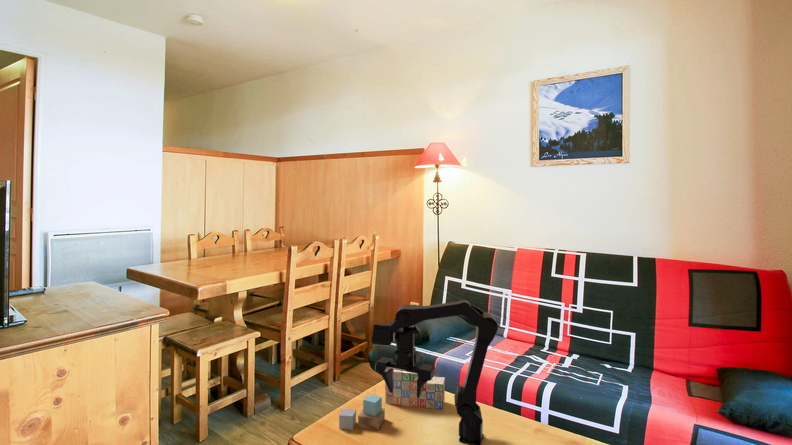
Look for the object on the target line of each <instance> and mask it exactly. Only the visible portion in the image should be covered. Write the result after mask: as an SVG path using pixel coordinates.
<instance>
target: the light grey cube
mask: <svg viewBox="0 0 792 445" xmlns="http://www.w3.org/2000/svg"><path fill="white" fill-rule="evenodd" d="M338 421H339V422H338V429H339V430H350V431H351V430H352V431H353V430H354V428H355V425H356V423H357V409H356V408H342V409H341V411H340V413H339V415H338Z"/></svg>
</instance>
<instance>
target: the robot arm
mask: <svg viewBox="0 0 792 445" xmlns="http://www.w3.org/2000/svg"><path fill="white" fill-rule="evenodd" d="M459 316H463V317H464V318H466V319H467V320H469V322H470V323H471V324H473V325H474V326H475V342H474V345H473V348H472V353H471V356H470V357H471V358H470V361H469V364H468V368H467V371H466V375H465V379H464V382H463V384H461V385H459V384H456V391H455V394H454V396H453V398H454V407H455V408H456V409H455V411H456V414H457V415H458V416H459V417H460V421H459V423H458V436H459V438H458V441H459V442H460V443H465V444H469V445H481V444H482V441H483V439H484V436H485V433H483V432H484V431H483V430H484V429H483V428H484V424H483V423H484V421H483V420H484V418H483V416H482V410H481V406H480V405H479V404H478V403H477V389H478V385H479V382H480V378H481V374H482V371H483V368H484V364H485V360H486V357H487V352H488V348H489V346H490V345H491V343H492V342H493V341H494V339H495V337H496V335H497V333H498V328H499V324H498V322H497V319H496V317H495V316H494V315H493V314H492V313H491V312H485V311H483V310H482V309H480V308H479V307H477V306H475V305H473V304H472V303H470V302H469V301H468V300H466V299H461V300H458V301H449V302H443V303H436V304H430V305H419V304H418V305H417V304H402V305H401V306H399V308H398V309H397V311H396V314H395V316H394V317H395V318H394V319H393V320H392V321H391V323H380V322H375V323H374V324H373V328H372V335H371V345H372V346H381V347H382V346H384V347H390V346H391V345H392V343H394V344H395V350H394V353H393V354H394V355H395V362H394V359H393V358H391V357H385V356H382V357H381V358H379V359H378V360H377V361H376V362H375V364H374V371H375V372H378V375H381V377H382V379H383V381H384V383H385V382H386V384H387V387H388V389H389V391H390V393H392V392H393V369H395V370H400V371H406V372H411V373H417V374H418V377H419V378H418V379H417V398H418V399H419V397H420V395H421V392H422V389H423V386H424V384H425V383H426V382H427V381H430V380H431V379H432V378H433V377H436V372H437V370H436V369H437V368H436V367H435V365H432V364H426V363H423V364H422V365H421V366H416V365H417V364H418V363H420V361H421V360H420V359H421V353H422V352H421V351H417V349H416V347H415V334H416V335H419V334H420V333H421V328H419V327H418V325H417V324H420V323H422V322H424V321H428V320H434V319H435V320H436V319H437V320H438V319H443V318H450V317H459Z"/></svg>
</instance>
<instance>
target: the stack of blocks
mask: <svg viewBox="0 0 792 445" xmlns="http://www.w3.org/2000/svg"><path fill="white" fill-rule="evenodd" d="M418 378H419V377H418V374H417V373H411V372H406V371H400V370H395V369H393V392H392V393H390V391H389V389H388V387H387V384H386V382H385V381H384V385H385V386H384V387H385V391H384V392H385V398H384V400H385V401H384V402H385V404H388V405H394V406H395V405H397V406H405V407H414V408H415V407H416V408H417V407H418V408H425V409H434V410H442V411H443V410H444V406H445V394H446V392H445V387H446V386H445V383H446V382H445V380H446V379H445V377H444V376H443V377H441V376H434V377H433V378H432V379H431V380H430V381H427V382H426V383H425V384H424V386H423V389H422V392H421V395H420V397H419V399H418V398H417V379H418Z"/></svg>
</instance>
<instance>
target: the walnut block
mask: <svg viewBox="0 0 792 445" xmlns="http://www.w3.org/2000/svg"><path fill="white" fill-rule="evenodd" d="M385 409H386V408H384V407H382V410H381V411H380V412H379V413H378V414H377V415H376V416H372V415H368V414H364V413H363V409H362V410H361V411H360V413H358V416H357V418H358V419H357V423H358V424H357V427H358V428H360V429H366V430H367V429H368V430H376V431H380V429H381V427H382V425H383V423H384V421H385V420H386V418H385V415H386V412H385Z"/></svg>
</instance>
